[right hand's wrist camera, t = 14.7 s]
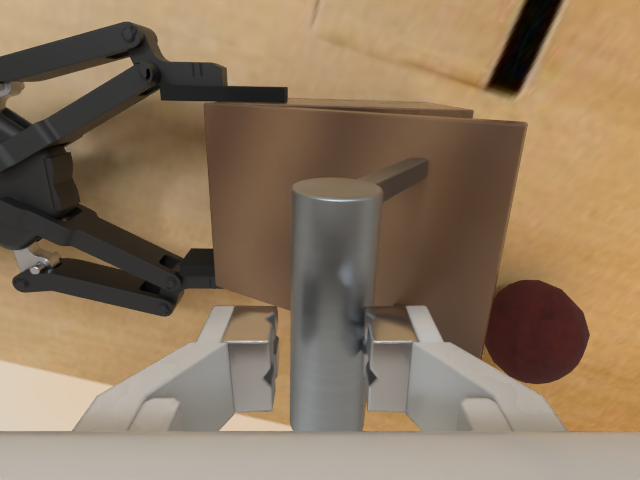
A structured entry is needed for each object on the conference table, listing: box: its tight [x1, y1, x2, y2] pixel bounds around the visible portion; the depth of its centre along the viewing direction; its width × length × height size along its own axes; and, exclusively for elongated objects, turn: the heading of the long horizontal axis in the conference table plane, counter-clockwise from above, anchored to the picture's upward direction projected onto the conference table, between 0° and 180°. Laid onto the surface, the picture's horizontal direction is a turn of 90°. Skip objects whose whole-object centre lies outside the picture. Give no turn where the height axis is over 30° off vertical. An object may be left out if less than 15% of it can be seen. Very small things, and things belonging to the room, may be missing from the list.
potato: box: [485, 280, 590, 384], centre depth 32 cm, size 7×8×7 cm
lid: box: [204, 103, 528, 431], centre depth 15 cm, size 14×10×8 cm
